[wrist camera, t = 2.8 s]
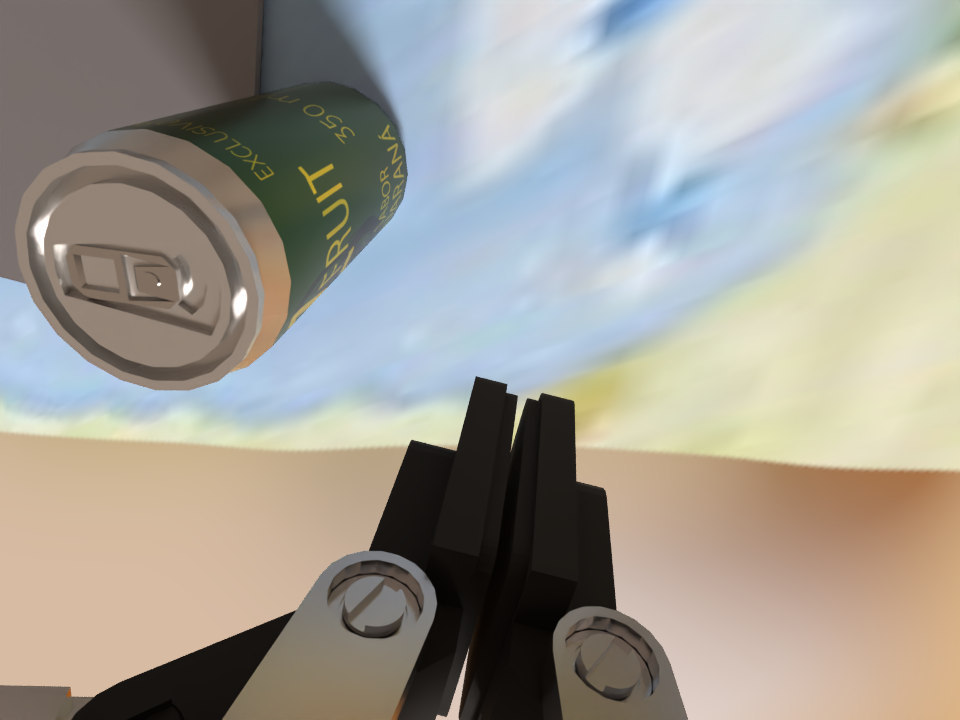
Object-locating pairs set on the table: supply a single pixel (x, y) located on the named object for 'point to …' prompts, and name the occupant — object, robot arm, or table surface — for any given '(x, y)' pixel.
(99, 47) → the mat
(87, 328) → the green soda can
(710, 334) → the table surface
